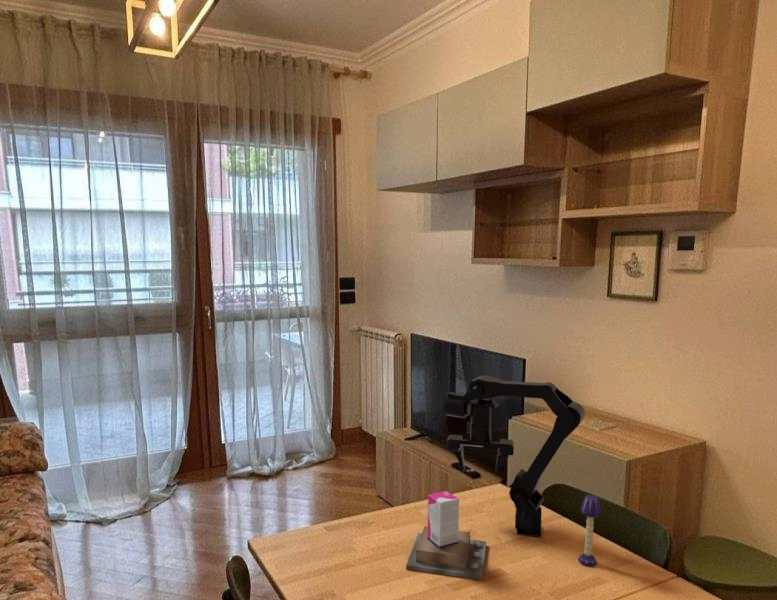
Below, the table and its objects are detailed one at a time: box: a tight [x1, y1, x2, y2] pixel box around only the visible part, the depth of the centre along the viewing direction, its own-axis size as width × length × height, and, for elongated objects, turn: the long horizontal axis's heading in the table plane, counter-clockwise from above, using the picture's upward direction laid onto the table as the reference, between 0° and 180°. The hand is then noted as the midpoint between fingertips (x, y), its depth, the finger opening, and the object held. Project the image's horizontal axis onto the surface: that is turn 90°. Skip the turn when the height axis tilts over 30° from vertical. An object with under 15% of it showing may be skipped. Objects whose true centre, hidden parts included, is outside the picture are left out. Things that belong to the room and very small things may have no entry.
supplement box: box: [427, 490, 460, 549], centre depth 134 cm, size 6×6×12 cm
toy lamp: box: [577, 494, 602, 568], centre depth 132 cm, size 5×5×17 cm
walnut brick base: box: [405, 526, 487, 581], centre depth 134 cm, size 18×16×4 cm
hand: (479, 473), depth 154 cm, fingers open, 9 cm apart
